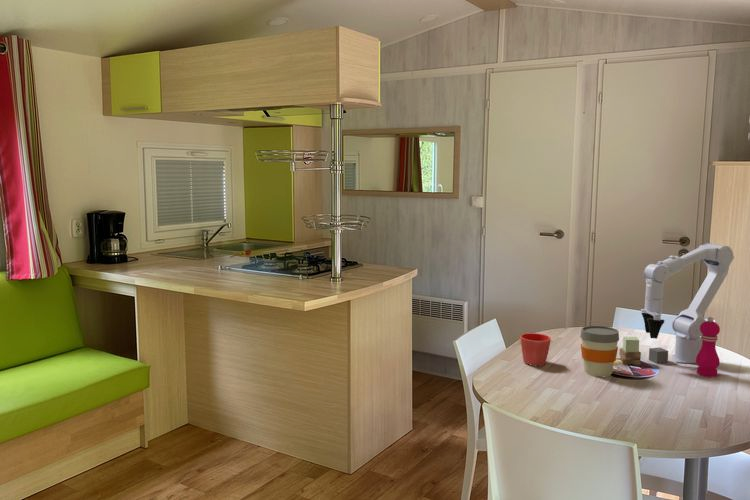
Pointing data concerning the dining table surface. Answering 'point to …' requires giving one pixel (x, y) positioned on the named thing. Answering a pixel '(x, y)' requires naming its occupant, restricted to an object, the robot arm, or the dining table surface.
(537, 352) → the flower pot
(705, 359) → the pepper mill
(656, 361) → the charcoal block
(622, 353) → the top slab
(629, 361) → the base slab
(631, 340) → the green cube
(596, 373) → the reusable coffee cup
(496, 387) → the dining table surface
